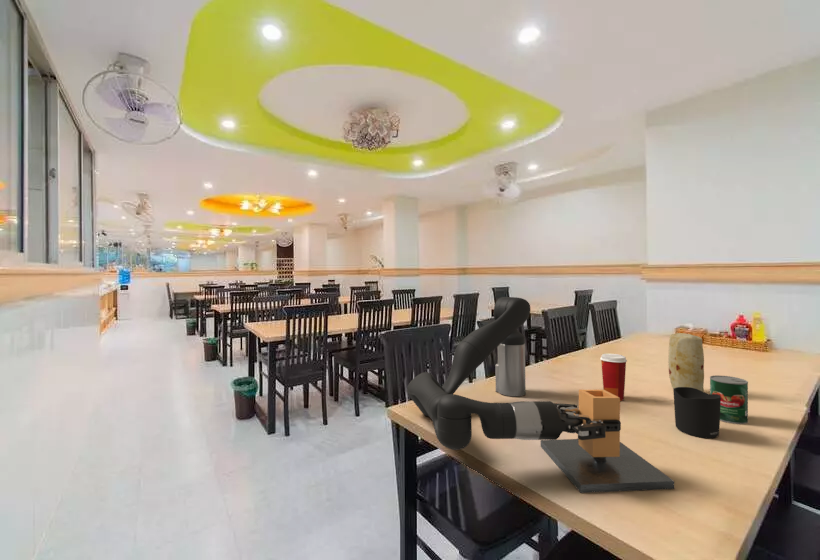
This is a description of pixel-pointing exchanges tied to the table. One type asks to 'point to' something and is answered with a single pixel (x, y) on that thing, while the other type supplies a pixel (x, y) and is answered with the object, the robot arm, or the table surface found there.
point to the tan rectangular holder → (602, 408)
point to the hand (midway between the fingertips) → (610, 419)
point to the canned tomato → (731, 398)
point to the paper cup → (614, 374)
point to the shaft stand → (605, 469)
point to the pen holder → (697, 412)
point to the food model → (686, 361)
